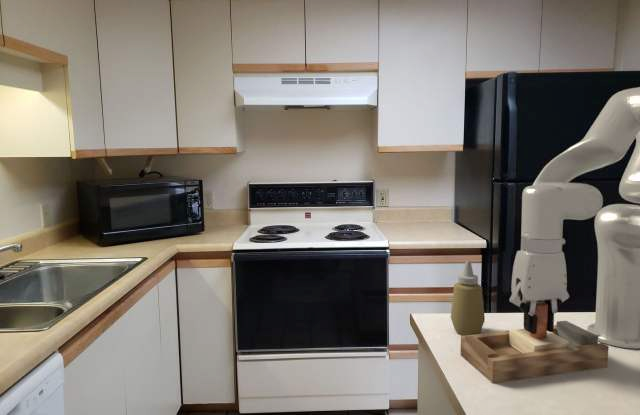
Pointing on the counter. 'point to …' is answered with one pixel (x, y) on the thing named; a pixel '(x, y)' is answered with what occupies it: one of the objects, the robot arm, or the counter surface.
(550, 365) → the base
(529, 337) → the carriage
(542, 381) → the counter surface
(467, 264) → the squeeze bottle
